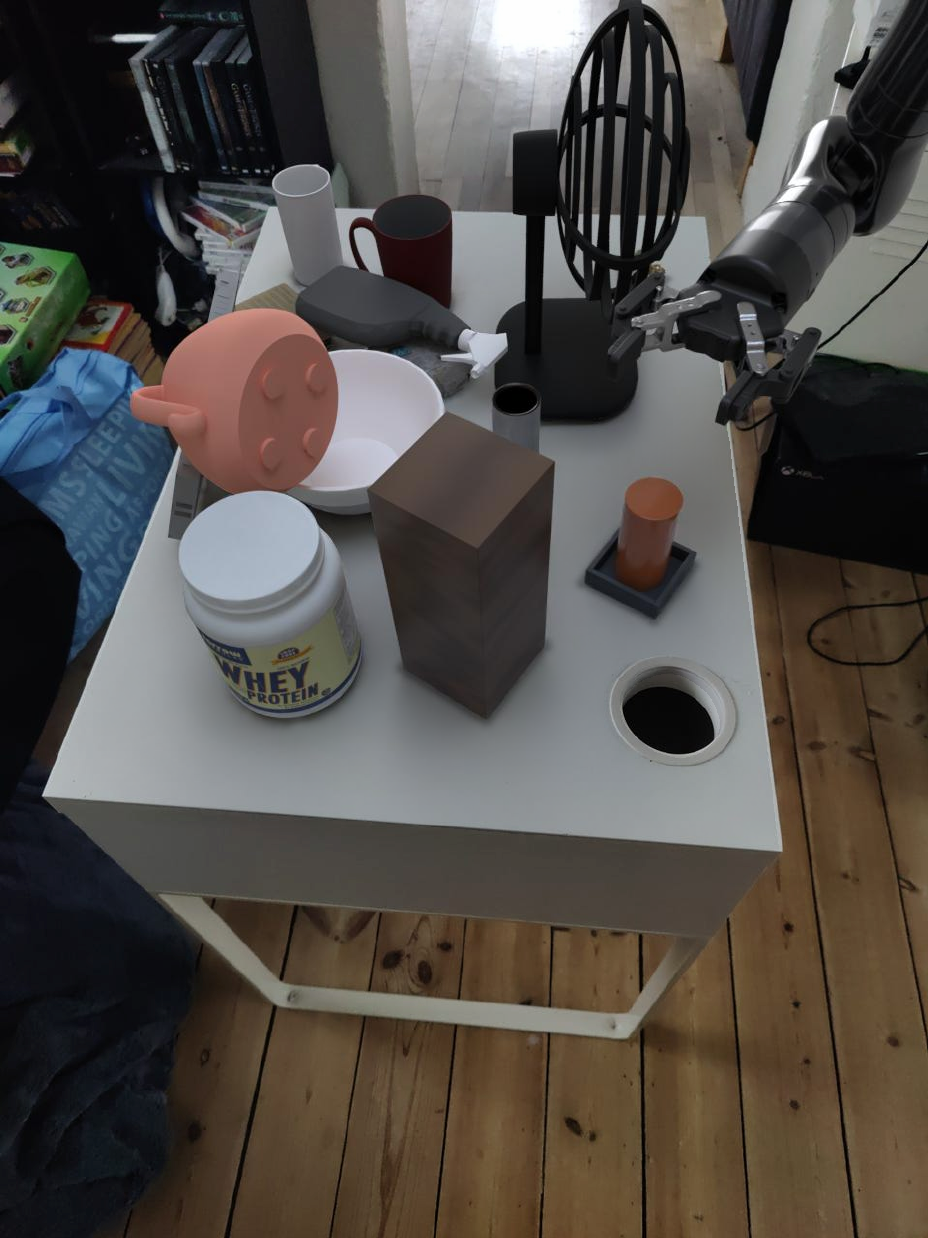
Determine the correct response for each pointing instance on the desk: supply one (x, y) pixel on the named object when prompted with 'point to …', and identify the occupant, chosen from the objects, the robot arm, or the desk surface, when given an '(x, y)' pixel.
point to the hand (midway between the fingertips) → (665, 392)
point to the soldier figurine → (652, 266)
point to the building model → (186, 474)
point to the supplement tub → (271, 603)
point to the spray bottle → (392, 316)
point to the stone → (432, 362)
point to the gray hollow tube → (517, 414)
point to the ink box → (280, 306)
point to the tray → (643, 601)
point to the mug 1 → (308, 220)
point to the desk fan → (582, 327)
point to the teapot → (247, 400)
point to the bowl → (369, 427)
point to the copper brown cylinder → (647, 532)
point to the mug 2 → (412, 243)
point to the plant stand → (466, 558)
